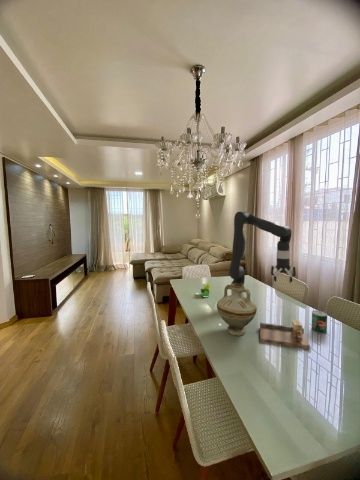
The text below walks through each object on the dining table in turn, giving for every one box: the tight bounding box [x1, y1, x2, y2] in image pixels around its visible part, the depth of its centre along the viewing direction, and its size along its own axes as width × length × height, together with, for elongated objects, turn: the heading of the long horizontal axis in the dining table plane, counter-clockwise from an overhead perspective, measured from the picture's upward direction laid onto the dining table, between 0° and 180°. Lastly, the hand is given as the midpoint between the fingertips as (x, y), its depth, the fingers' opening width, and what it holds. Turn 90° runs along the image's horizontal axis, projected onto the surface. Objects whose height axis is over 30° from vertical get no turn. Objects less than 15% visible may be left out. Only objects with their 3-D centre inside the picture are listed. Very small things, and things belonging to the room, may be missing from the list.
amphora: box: [216, 283, 258, 337], centre depth 129 cm, size 24×24×30 cm
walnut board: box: [259, 322, 311, 350], centre depth 122 cm, size 24×16×4 cm, turn 70°
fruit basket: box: [200, 283, 211, 297], centre depth 193 cm, size 11×9×11 cm
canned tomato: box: [311, 310, 328, 335], centre depth 128 cm, size 8×8×11 cm
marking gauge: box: [292, 319, 303, 342], centre depth 118 cm, size 4×12×7 cm, turn 161°
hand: (282, 281), depth 136 cm, fingers open, 8 cm apart
